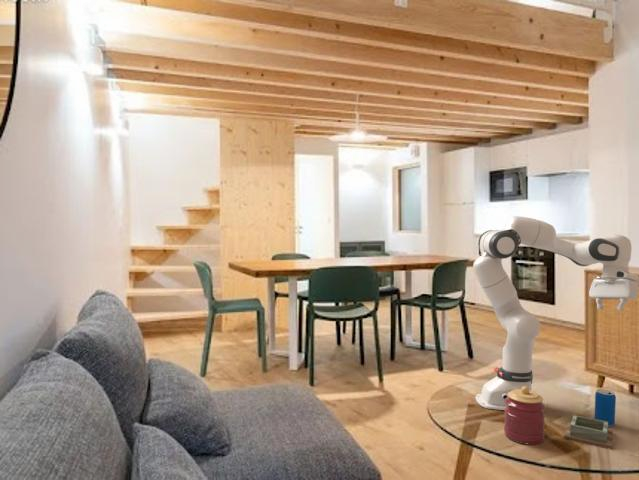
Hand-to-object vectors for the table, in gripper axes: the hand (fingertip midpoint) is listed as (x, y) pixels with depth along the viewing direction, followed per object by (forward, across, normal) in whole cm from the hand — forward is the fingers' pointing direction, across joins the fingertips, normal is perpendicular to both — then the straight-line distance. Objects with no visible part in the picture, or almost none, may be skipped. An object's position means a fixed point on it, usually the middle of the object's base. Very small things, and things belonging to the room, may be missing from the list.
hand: (609, 310), depth 193 cm
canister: (+53, +8, -35) cm, 64 cm away
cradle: (+47, +12, -13) cm, 50 cm away
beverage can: (+43, +5, 0) cm, 43 cm away
